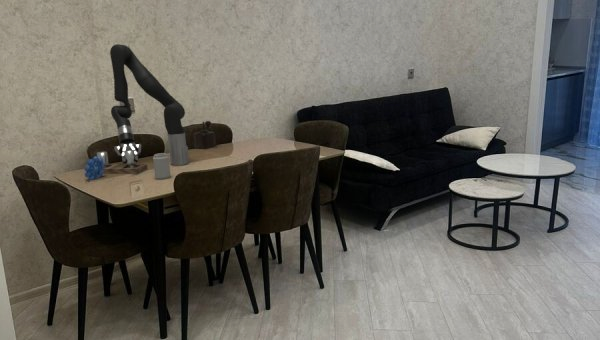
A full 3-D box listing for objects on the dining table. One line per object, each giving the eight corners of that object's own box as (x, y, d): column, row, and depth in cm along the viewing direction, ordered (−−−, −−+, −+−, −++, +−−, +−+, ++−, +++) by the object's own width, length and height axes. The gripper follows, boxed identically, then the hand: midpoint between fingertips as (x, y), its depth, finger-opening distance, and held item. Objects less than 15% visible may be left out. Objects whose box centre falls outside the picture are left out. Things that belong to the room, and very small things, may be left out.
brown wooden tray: (147, 170, 272) (146, 164, 271) (137, 175, 262) (136, 169, 261) (100, 170, 278) (99, 164, 277) (88, 175, 267) (87, 168, 267)
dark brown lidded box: (193, 148, 330) (190, 120, 325) (205, 145, 338) (203, 118, 334) (210, 150, 321) (207, 121, 317) (222, 146, 329) (220, 119, 325)
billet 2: (138, 168, 270) (135, 149, 267) (133, 170, 265) (130, 151, 262) (129, 168, 271) (127, 149, 268) (124, 170, 266) (122, 151, 263)
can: (173, 177, 255) (171, 153, 252) (160, 180, 250) (158, 156, 247) (165, 175, 260) (162, 151, 257) (152, 178, 255) (149, 154, 252)
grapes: (101, 176, 263) (98, 153, 260) (109, 178, 259) (106, 154, 257) (80, 182, 254) (77, 158, 251) (89, 183, 250) (85, 159, 247)
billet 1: (111, 169, 273) (108, 151, 271) (105, 172, 268) (103, 153, 266) (102, 169, 274) (100, 151, 272) (97, 172, 269) (94, 153, 267)
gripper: (111, 133, 267) (115, 160, 259) (139, 130, 273) (145, 156, 265) (112, 141, 273) (116, 168, 265) (139, 138, 279) (145, 164, 271)
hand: (130, 162), depth 265 cm, fingers closed on billet 2, 5 cm apart
